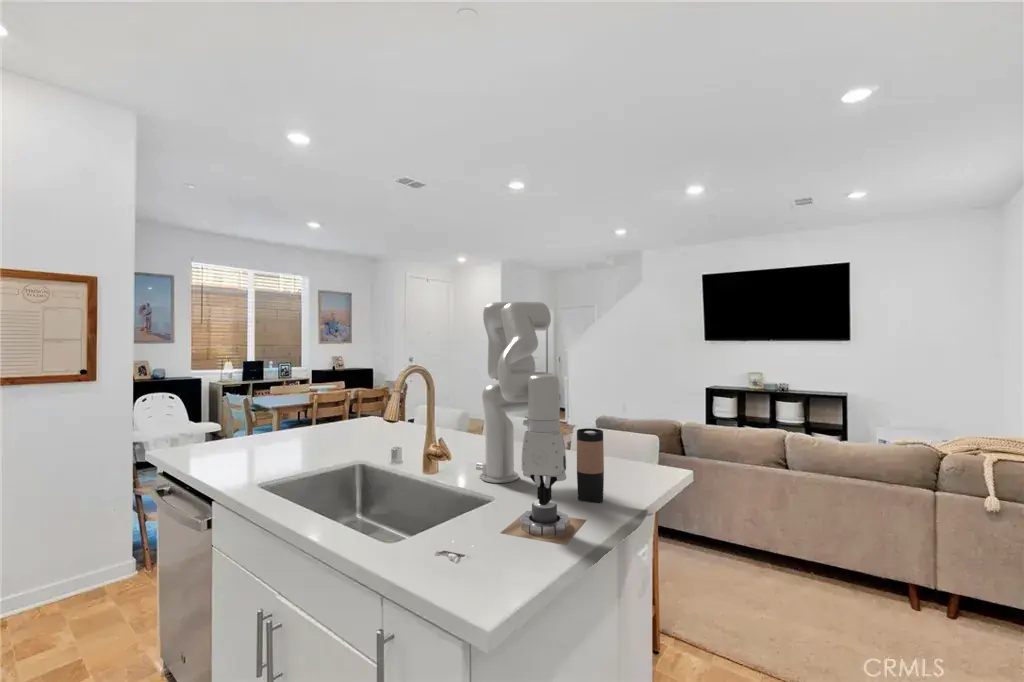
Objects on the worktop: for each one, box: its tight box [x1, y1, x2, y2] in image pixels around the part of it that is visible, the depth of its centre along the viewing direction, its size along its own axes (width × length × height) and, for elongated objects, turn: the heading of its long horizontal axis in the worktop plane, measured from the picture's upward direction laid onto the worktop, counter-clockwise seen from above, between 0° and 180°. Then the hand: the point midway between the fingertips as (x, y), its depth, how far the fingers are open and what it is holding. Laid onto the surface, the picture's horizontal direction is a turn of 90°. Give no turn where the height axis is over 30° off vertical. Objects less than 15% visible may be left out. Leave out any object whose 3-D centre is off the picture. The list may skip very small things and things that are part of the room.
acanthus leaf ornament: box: [434, 540, 474, 564], centre depth 101 cm, size 8×7×2 cm
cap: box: [531, 499, 558, 524], centre depth 112 cm, size 6×6×5 cm
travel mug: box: [576, 427, 605, 505], centre depth 134 cm, size 8×8×20 cm
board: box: [499, 510, 587, 546], centre depth 112 cm, size 16×16×1 cm
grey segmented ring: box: [519, 510, 570, 536], centre depth 112 cm, size 12×12×2 cm
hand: (544, 502), depth 112 cm, fingers closed
